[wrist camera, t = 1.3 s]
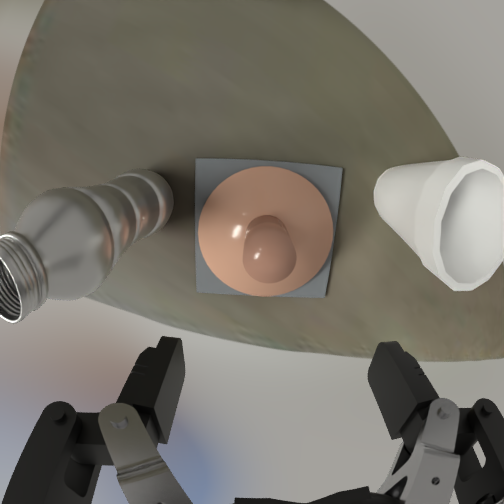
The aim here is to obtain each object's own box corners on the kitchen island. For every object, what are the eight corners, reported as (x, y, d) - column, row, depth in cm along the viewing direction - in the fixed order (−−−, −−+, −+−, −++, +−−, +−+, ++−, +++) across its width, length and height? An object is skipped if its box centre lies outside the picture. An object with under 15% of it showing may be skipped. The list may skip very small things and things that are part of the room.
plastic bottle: (125, 162, 25) (-44, 200, 6) (186, 174, 25) (40, 231, 7) (117, 221, 27) (-24, 318, 8) (173, 235, 27) (61, 372, 9)
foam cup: (443, 186, 25) (525, 213, 13) (404, 251, 28) (473, 308, 16) (386, 134, 23) (471, 130, 11) (343, 207, 26) (407, 252, 14)
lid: (200, 163, 25) (182, 167, 18) (337, 172, 25) (364, 179, 18) (201, 288, 29) (187, 325, 22) (320, 293, 29) (337, 331, 23)
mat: (196, 158, 25) (195, 158, 24) (341, 167, 25) (342, 167, 25) (197, 290, 30) (196, 292, 29) (323, 296, 30) (324, 297, 29)
